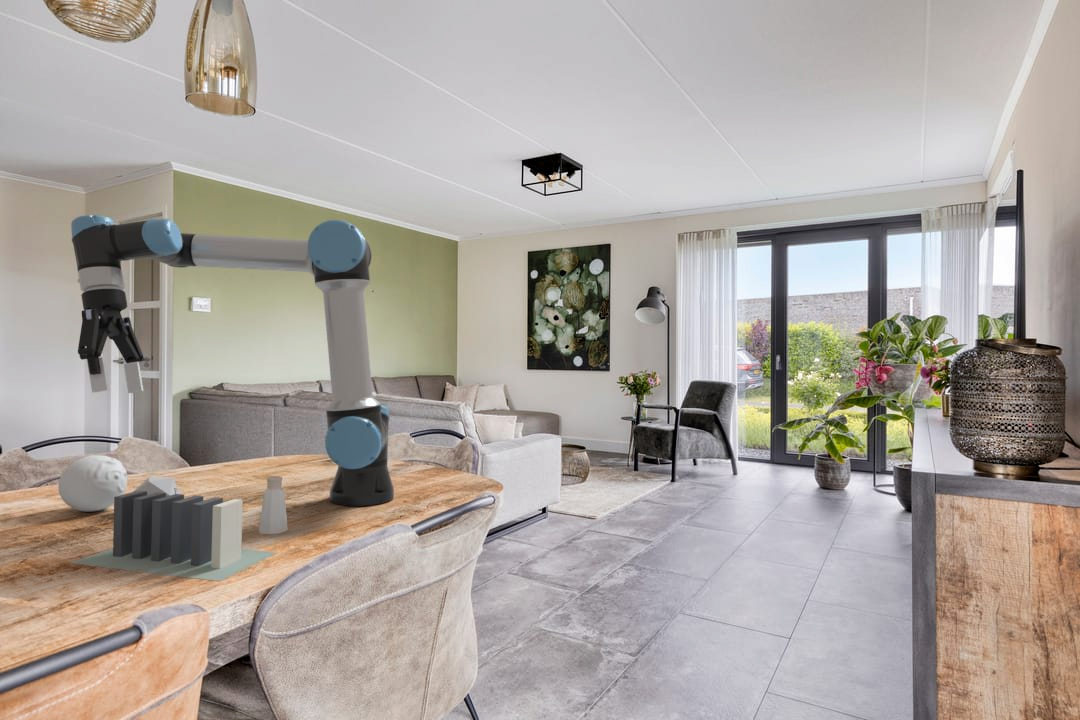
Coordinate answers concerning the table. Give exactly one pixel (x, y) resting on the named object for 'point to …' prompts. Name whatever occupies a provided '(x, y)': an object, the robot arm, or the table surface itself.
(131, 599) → the table surface
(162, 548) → the domino
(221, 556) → the domino
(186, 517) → the domino
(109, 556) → the felt mat
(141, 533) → the domino
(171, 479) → the die
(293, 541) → the table surface
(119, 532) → the domino
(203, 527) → the domino
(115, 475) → the decorative ball
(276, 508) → the salt shaker
